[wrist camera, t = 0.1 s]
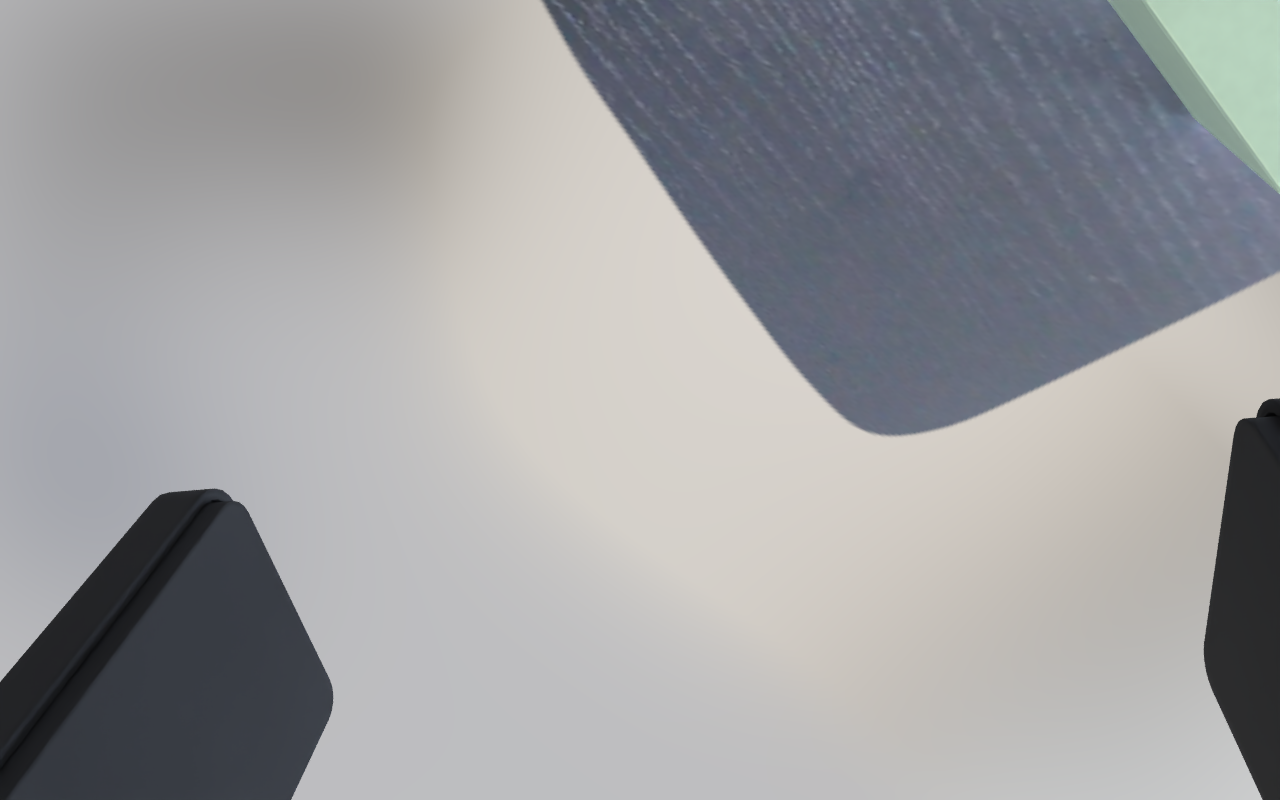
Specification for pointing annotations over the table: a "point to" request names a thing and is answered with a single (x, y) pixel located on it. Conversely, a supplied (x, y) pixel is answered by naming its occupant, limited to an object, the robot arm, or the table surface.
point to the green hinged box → (1183, 79)
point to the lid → (1233, 64)
